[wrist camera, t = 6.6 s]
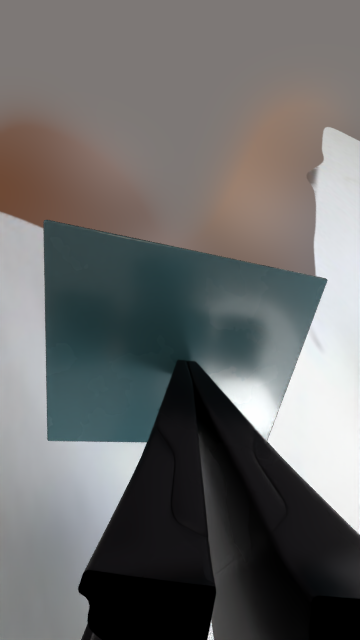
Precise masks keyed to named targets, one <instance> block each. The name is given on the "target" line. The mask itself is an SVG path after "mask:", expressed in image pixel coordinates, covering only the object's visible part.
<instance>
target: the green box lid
mask: <svg viewBox="0 0 360 640" xmlns="http://www.w3.org/2000/svg"><path fill="white" fill-rule="evenodd" d="M44 276H45V331H46V386H47V440H48V441H90V442H147V441H148V439H149V436H150V433H151V431H152V428H153V426H154V423H155V420H156V417H157V414H158V412H159V409H160V406H161V403H162V401H163V398H164V395H165V392H166V390H167V387H168V384H169V381H170V379H171V376H172V373H173V370H174V368H175V365H176V362H177V360H186V361H188V360H189V361H196V362H197V363H198V364H199V365H200V366H201V368H202V369H203V370H204V371H205V372H206V373H207V374H208V375H209V377H210V378H211V379H212V380H213V381H214V382H215V383H216V384H217V386H218V387H219V388H220V389H221V390H222V391H223V392H224V394H225V395H226V396H227V397H228V398H229V399H230V400H231V401H232V403H233V404H234V405H235V406H236V407H237V408H238V409H239V410H240V412H241V413H242V414H243V415H244V416H245V417H246V418H247V420H248V421H249V422H250V423H251V424H252V425H253V426H254V428H255V429H256V430H257V431H258V432H259V433H260V434H261V435H262V436H263V438H264V439H265V440H266V441H267V440H268V437H269V435H270V432H271V429H272V427H273V424H274V421H275V419H276V416H277V413H278V411H279V408H280V405H281V403H282V400H283V397H284V395H285V392H286V389H287V387H288V384H289V381H290V379H291V376H292V373H293V371H294V368H295V365H296V363H297V360H298V357H299V355H300V352H301V349H302V347H303V344H304V341H305V339H306V336H307V334H308V331H309V328H310V326H311V323H312V320H313V318H314V315H315V312H316V310H317V307H318V304H319V302H320V299H321V296H322V294H323V291H324V288H325V286H326V283H327V279H326V278H321V277H317V276H312V275H307V274H302V273H298V272H293V271H288V270H283V269H279V268H274V267H269V266H264V265H259V264H255V263H250V262H245V261H241V260H236V259H231V258H226V257H222V256H216V255H212V254H207V253H202V252H198V251H193V250H188V249H184V248H179V247H174V246H169V245H164V244H160V243H155V242H150V241H146V240H141V239H136V238H131V237H127V236H122V235H117V234H112V233H107V232H103V231H98V230H93V229H89V228H84V227H79V226H74V225H70V224H65V223H60V222H55V221H51V220H44Z"/></svg>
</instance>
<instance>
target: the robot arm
mask: <svg viewBox="0 0 360 640" xmlns="http://www.w3.org/2000/svg"><path fill="white" fill-rule="evenodd" d="M78 591H79V593H80V594H82V595H83V596H85V597H86V598H87V600H88V602H89V605H90V606H89V612H88V620H87V622H88V624H87V626H86V629H85V631H84V634H83V636H82V639H81V640H207V638H208V633H209V628H210V623H211V621H212V628H213V636H214V640H360V535H359V534H358V533H357V532H356V531H355V530H354V529H353V528H352V527H351V526H350V525H349V524H348V523H347V522H346V521H345V520H344V519H343V518H342V517H341V516H340V515H339V514H338V513H337V512H336V511H335V510H334V509H333V508H332V507H331V506H330V505H329V504H328V503H327V502H326V501H325V500H324V499H323V498H322V497H321V496H320V495H319V494H318V493H317V492H316V491H315V490H314V489H313V488H312V487H311V486H310V485H309V484H308V483H307V482H306V481H305V480H303V479H302V478H301V477H300V476H299V475H298V473H297V472H296V471H295V470H294V469H293V468H292V467H291V466H290V465H289V464H288V463H287V462H286V461H285V460H284V459H283V458H282V457H281V456H280V455H279V454H278V453H277V452H276V451H275V450H274V448H273V447H272V446H271V445H270V444H269V443H268V442H267V441H266V440H265V439H264V438H263V436H262V435H261V434H260V433H259V432H258V431H257V430H256V429H255V428H254V426H253V425H252V424H251V423H250V422H249V421H248V420H247V418H246V417H245V416H244V415H243V414H242V413H241V412H240V410H239V409H238V408H237V407H236V406H235V405H234V404H233V403H232V401H231V400H230V399H229V398H228V397H227V396H226V395H225V394H224V392H223V391H222V390H221V389H220V388H219V387H218V386H217V384H216V383H215V382H214V381H213V380H212V379H211V378H210V377H209V375H208V374H207V373H206V372H205V371H204V370H203V369H202V368H201V366H200V365H199V364H198V363H197V362H196V361H189V360H188V361H186V360H177V362H176V365H175V368H174V370H173V373H172V376H171V379H170V381H169V384H168V387H167V390H166V392H165V395H164V398H163V401H162V403H161V406H160V409H159V412H158V414H157V417H156V420H155V423H154V426H153V428H152V431H151V433H150V436H149V439H148V441H147V444H146V446H145V449H144V451H143V454H142V456H141V459H140V461H139V463H138V465H137V467H136V469H135V471H134V473H133V476H132V478H131V480H130V482H129V484H128V486H127V488H126V490H125V492H124V494H123V496H122V498H121V500H120V502H119V504H118V506H117V508H116V510H115V512H114V514H113V516H112V518H111V520H110V522H109V524H108V526H107V528H106V530H105V532H104V534H103V536H102V538H101V540H100V542H99V543H98V545H97V547H96V549H95V551H94V553H93V555H92V557H91V559H90V561H89V563H88V565H87V567H86V569H85V571H84V573H83V575H82V578H81V581H80V584H79V587H78Z"/></svg>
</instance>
